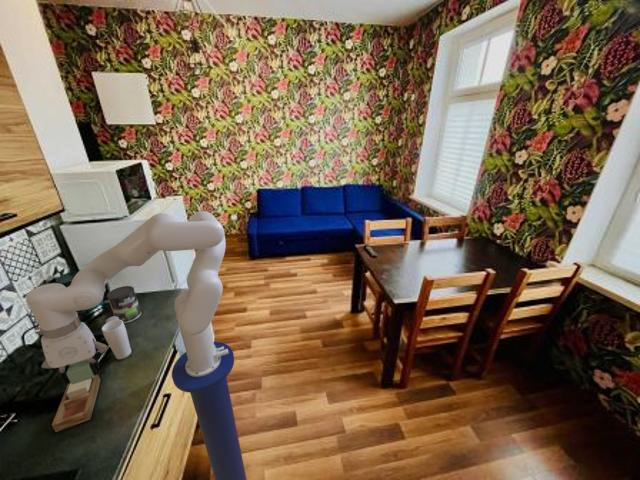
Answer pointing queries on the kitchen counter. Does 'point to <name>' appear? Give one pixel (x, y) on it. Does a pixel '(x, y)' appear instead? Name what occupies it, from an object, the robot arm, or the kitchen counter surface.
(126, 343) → the drinking glass
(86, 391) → the cream pad
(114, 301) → the coffee can
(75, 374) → the sage pad
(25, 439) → the kitchen counter surface
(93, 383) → the pad frame
